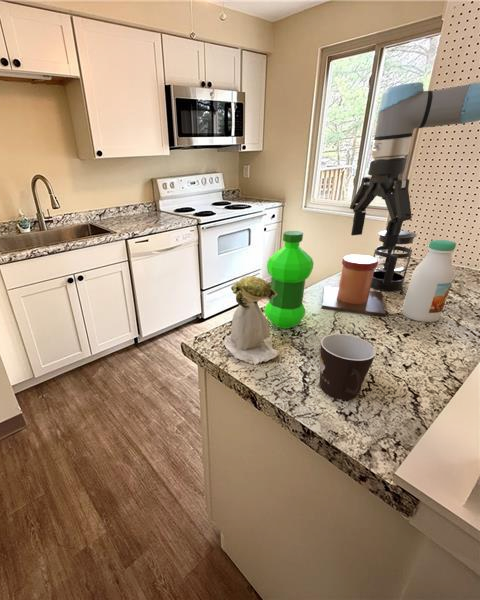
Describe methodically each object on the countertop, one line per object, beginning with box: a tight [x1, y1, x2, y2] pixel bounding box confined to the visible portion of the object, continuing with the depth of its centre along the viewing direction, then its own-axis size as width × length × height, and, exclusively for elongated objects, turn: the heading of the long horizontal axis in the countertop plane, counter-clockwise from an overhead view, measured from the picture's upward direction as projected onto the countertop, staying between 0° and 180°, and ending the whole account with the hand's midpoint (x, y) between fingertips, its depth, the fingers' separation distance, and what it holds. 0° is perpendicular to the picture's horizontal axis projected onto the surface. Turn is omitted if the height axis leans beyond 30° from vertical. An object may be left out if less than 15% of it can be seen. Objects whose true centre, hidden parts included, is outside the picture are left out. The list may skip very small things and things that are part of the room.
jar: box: [337, 264, 376, 304], centre depth 89 cm, size 8×8×12 cm
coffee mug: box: [319, 333, 377, 401], centre depth 58 cm, size 12×9×10 cm
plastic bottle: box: [264, 230, 314, 329], centre depth 79 cm, size 10×10×25 cm
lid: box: [341, 254, 379, 270], centre depth 87 cm, size 8×8×2 cm
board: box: [320, 285, 387, 318], centre depth 92 cm, size 15×15×1 cm
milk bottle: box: [401, 239, 457, 323], centre depth 77 cm, size 8×8×20 cm
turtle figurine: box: [223, 275, 280, 366], centre depth 72 cm, size 12×13×18 cm
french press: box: [370, 213, 418, 292], centre depth 94 cm, size 12×9×23 cm
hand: (371, 240), depth 87 cm, fingers open, 13 cm apart
